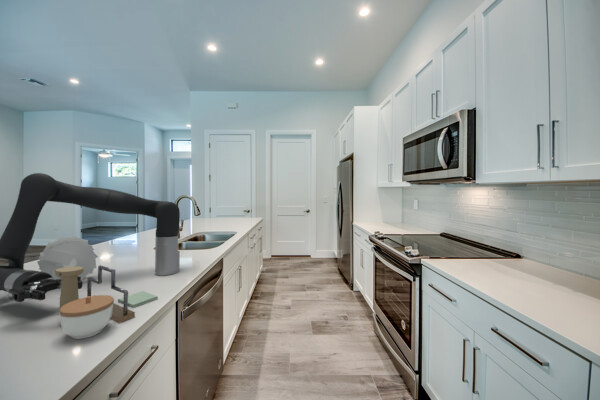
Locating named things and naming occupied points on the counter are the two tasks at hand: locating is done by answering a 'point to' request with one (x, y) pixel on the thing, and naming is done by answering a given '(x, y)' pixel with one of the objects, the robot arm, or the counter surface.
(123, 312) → the bent wire
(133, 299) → the green pad
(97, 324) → the lidded jar
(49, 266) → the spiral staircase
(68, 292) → the handle
